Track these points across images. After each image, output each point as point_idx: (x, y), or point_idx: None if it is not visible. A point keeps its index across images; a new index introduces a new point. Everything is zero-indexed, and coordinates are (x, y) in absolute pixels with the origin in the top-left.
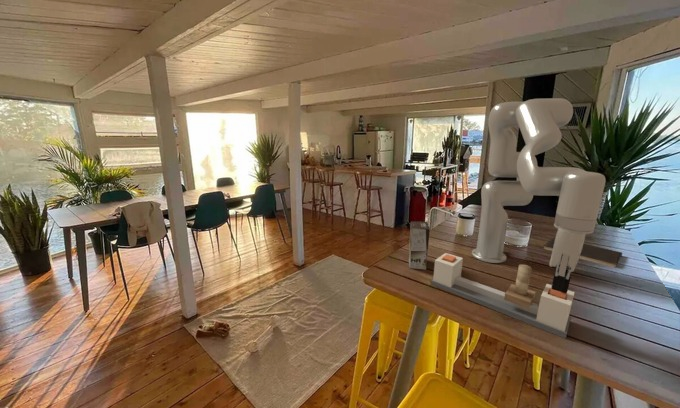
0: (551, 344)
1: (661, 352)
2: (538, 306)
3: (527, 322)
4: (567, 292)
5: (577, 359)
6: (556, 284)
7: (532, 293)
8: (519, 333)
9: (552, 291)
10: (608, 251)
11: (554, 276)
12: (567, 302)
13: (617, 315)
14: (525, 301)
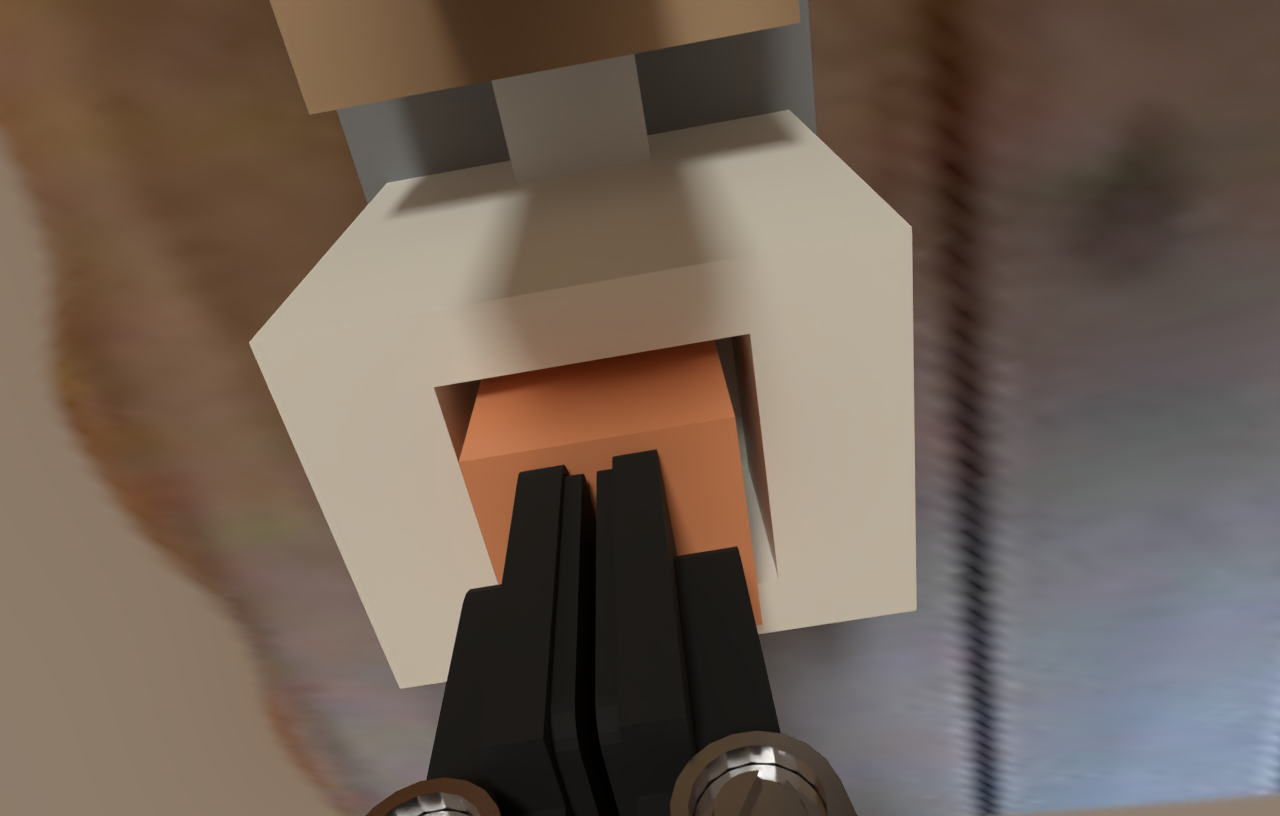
0: (244, 381)
1: (880, 791)
2: (582, 146)
3: None
4: (812, 557)
5: (264, 551)
6: (454, 649)
7: (674, 8)
8: (69, 113)
9: (472, 484)
10: None
11: (486, 721)
12: (447, 644)
13: (1263, 573)
14: (287, 34)
